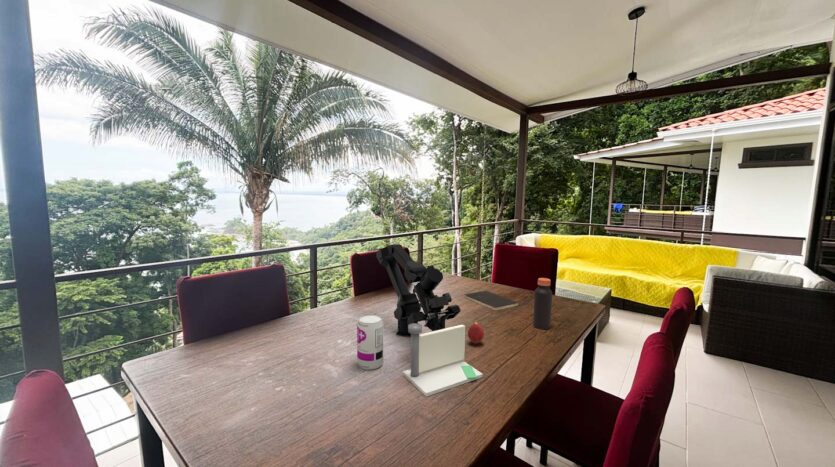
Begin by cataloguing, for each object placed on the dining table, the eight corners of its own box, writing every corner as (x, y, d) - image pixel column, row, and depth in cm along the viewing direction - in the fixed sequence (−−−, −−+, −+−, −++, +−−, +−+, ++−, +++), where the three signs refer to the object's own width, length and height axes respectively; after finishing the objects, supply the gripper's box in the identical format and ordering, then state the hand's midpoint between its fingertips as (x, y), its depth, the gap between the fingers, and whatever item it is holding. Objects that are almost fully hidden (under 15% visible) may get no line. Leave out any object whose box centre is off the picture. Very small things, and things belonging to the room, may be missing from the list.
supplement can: (362, 373, 104) (361, 325, 102) (354, 361, 111) (353, 316, 109) (387, 367, 108) (387, 321, 106) (377, 356, 115) (377, 312, 113)
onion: (483, 347, 122) (484, 326, 121) (467, 346, 123) (467, 324, 122) (483, 341, 128) (484, 320, 127) (468, 339, 129) (468, 318, 128)
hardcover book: (494, 312, 161) (494, 307, 160) (464, 298, 180) (464, 294, 180) (519, 306, 169) (519, 302, 168) (487, 294, 188) (487, 290, 188)
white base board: (428, 398, 91) (428, 394, 91) (402, 374, 103) (402, 370, 103) (485, 378, 102) (486, 374, 102) (457, 358, 114) (457, 354, 114)
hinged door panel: (412, 379, 99) (412, 329, 97) (405, 373, 102) (405, 324, 100) (466, 362, 109) (468, 317, 107) (458, 357, 112) (460, 313, 110)
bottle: (547, 323, 145) (550, 277, 143) (552, 330, 139) (555, 281, 136) (531, 322, 146) (533, 277, 144) (535, 329, 139) (537, 281, 137)
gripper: (411, 289, 110) (430, 334, 101) (458, 282, 119) (478, 323, 111) (400, 306, 117) (416, 349, 109) (444, 298, 127) (462, 337, 119)
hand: (444, 339), depth 112 cm, fingers closed
